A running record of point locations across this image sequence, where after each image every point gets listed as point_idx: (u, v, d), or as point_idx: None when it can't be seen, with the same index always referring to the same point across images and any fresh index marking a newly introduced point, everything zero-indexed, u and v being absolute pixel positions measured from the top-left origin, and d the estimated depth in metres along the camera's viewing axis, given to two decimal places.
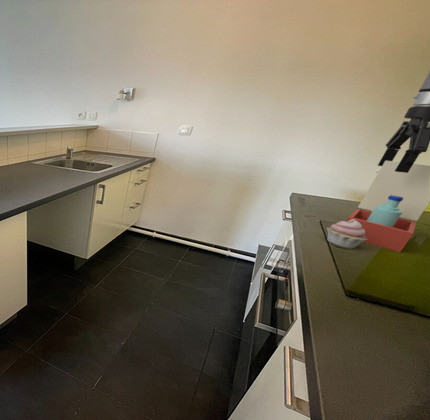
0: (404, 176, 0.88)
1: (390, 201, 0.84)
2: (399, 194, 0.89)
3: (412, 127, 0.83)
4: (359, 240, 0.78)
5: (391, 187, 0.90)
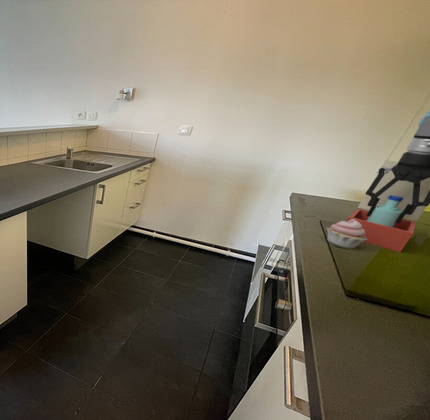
0: None
1: (390, 201, 0.84)
2: (399, 194, 0.88)
3: (420, 177, 0.78)
4: (359, 240, 0.78)
5: (391, 187, 0.90)
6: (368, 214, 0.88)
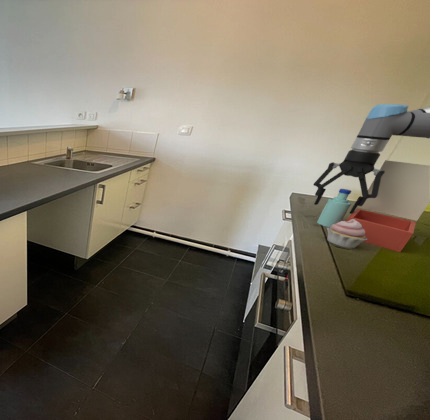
0: (404, 176, 0.87)
1: (340, 194, 0.93)
2: (399, 194, 0.88)
3: (362, 172, 0.88)
4: (359, 240, 0.78)
5: (391, 187, 0.90)
6: (315, 203, 0.99)
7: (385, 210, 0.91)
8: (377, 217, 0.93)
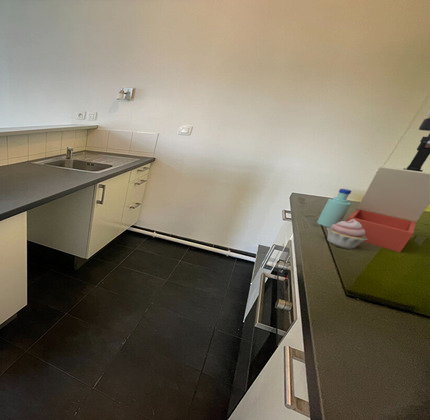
0: (400, 182, 0.84)
1: (340, 194, 0.93)
2: (397, 198, 0.87)
3: None
4: (359, 240, 0.78)
5: (388, 192, 0.88)
6: None
7: (384, 211, 0.91)
8: (377, 217, 0.93)
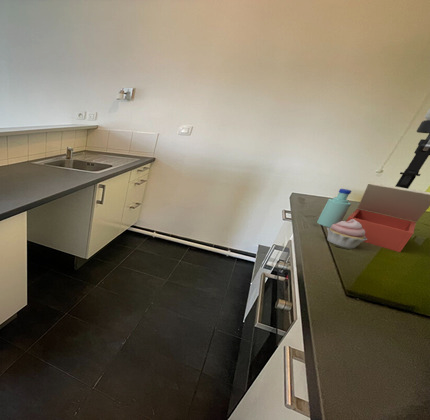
0: (392, 195, 0.83)
1: (340, 194, 0.93)
2: (392, 205, 0.86)
3: None
4: (359, 240, 0.78)
5: (382, 200, 0.87)
6: None
7: (384, 212, 0.91)
8: (377, 217, 0.93)
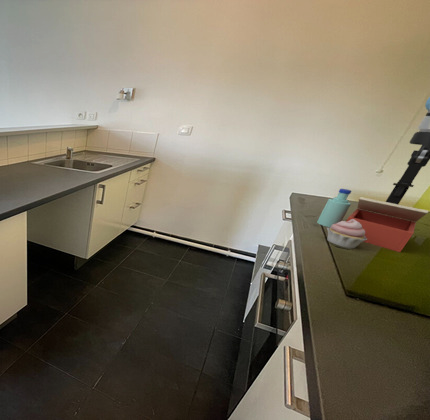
0: (384, 207, 0.83)
1: (340, 194, 0.93)
2: (388, 211, 0.86)
3: None
4: (359, 240, 0.78)
5: (378, 208, 0.87)
6: None
7: (383, 213, 0.91)
8: (377, 217, 0.93)
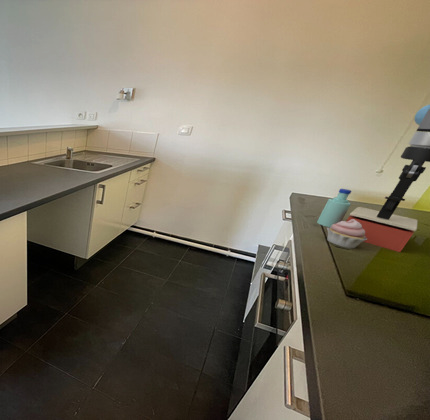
0: None
1: (340, 194, 0.93)
2: None
3: None
4: (359, 240, 0.78)
5: None
6: (389, 217, 0.82)
7: None
8: None
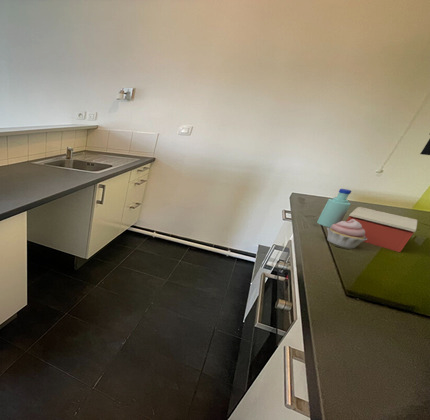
0: None
1: (340, 194, 0.93)
2: None
3: None
4: (359, 240, 0.78)
5: None
6: None
7: None
8: None
